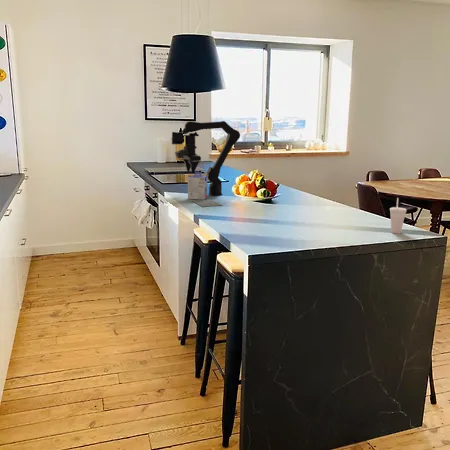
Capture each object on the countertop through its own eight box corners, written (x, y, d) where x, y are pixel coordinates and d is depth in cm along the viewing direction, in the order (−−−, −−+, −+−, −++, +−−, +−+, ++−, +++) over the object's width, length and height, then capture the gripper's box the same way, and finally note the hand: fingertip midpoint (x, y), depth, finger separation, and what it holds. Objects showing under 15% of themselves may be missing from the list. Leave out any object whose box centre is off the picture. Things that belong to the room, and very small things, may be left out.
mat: (211, 200, 254) (211, 199, 254) (222, 205, 240) (222, 205, 240) (192, 201, 250) (192, 200, 250) (202, 206, 236) (202, 206, 236)
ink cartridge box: (207, 198, 260) (207, 172, 257) (205, 200, 255) (205, 173, 252) (190, 197, 262) (190, 171, 259) (187, 199, 257) (187, 172, 254)
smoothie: (384, 230, 192) (388, 196, 189) (400, 230, 193) (403, 196, 189) (391, 234, 186) (395, 199, 183) (407, 234, 186) (410, 199, 183)
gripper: (171, 143, 268) (172, 171, 272) (181, 145, 251) (181, 175, 255) (190, 143, 272) (190, 170, 276) (201, 145, 255) (201, 174, 259)
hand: (190, 172), depth 266 cm, fingers open, 8 cm apart
